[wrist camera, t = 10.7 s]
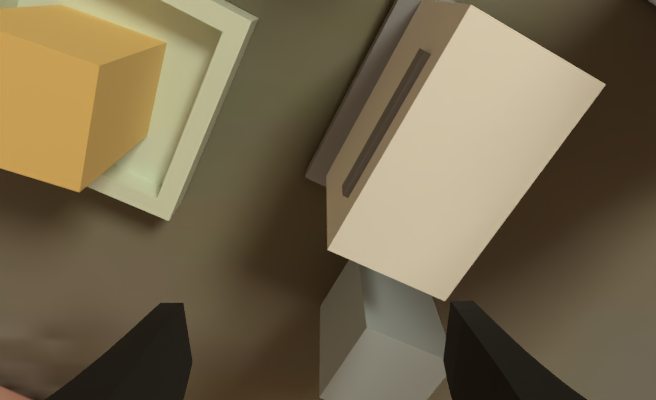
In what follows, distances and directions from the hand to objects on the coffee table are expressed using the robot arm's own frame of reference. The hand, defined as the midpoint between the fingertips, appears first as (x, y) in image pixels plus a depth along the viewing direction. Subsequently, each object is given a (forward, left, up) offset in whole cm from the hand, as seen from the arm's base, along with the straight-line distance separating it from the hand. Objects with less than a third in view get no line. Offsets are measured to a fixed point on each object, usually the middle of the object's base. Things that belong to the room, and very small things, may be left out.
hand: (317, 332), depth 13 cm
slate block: (-5, +4, -10) cm, 12 cm away
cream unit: (-2, -5, -10) cm, 11 cm away
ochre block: (+10, -1, -9) cm, 14 cm away
